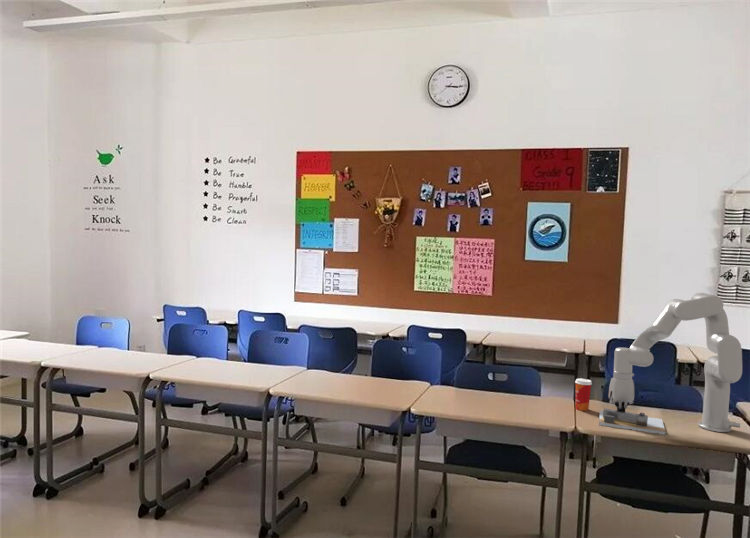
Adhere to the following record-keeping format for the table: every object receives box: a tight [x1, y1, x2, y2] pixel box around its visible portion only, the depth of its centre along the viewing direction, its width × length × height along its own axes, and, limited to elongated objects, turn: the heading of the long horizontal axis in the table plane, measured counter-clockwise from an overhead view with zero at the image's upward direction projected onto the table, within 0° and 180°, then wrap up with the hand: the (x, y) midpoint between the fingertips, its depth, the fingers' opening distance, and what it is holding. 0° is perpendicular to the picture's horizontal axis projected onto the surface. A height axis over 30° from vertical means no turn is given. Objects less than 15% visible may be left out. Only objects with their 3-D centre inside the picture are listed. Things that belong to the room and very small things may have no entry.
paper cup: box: [574, 378, 593, 412], centre depth 279 cm, size 8×8×14 cm
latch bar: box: [602, 407, 649, 426], centre depth 257 cm, size 18×5×5 cm, turn 59°
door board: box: [598, 410, 666, 436], centre depth 260 cm, size 26×20×4 cm
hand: (620, 416), depth 261 cm, fingers closed
